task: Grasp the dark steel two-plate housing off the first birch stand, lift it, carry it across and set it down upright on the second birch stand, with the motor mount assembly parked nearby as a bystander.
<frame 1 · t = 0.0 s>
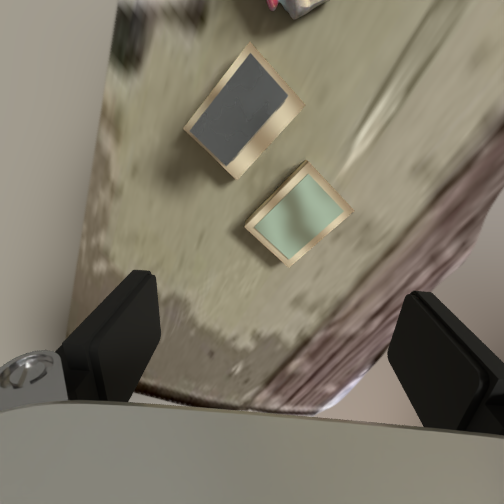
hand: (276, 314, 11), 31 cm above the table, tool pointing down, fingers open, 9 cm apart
stand A: (244, 118, 36), on the table
housing: (242, 117, 33), point 3 cm above the table, touching stand A
stand B: (296, 213, 41), on the table
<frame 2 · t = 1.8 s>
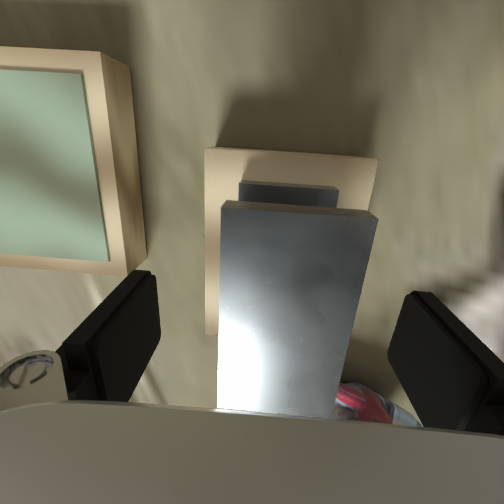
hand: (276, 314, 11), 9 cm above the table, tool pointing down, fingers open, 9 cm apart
stand A: (278, 242, 19), on the table
motor mount assembly: (332, 405, 25), on the table
housing: (279, 259, 17), point 3 cm above the table, touching stand A
stand B: (72, 169, 18), on the table
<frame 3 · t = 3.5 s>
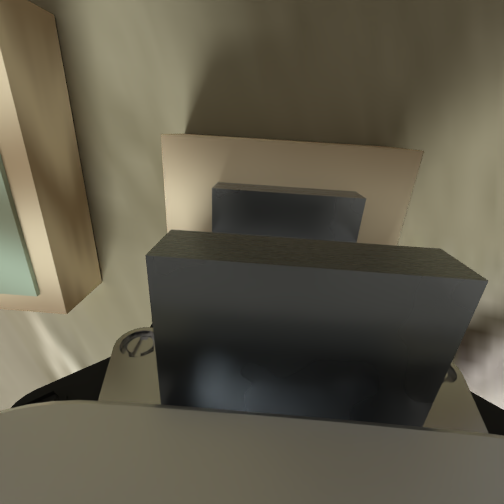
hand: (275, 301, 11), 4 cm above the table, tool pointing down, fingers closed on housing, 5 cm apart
stand A: (273, 262, 15), on the table
housing: (275, 292, 12), point 3 cm above the table, touching gripper, stand A
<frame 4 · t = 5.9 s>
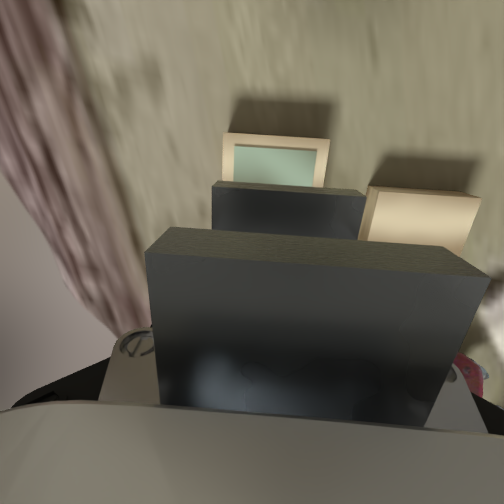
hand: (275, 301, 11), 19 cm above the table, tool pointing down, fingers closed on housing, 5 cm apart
stand A: (397, 245, 30), on the table
motor mount assembly: (418, 364, 36), on the table
housing: (275, 291, 12), point 18 cm above the table, touching gripper
stand B: (270, 198, 29), on the table
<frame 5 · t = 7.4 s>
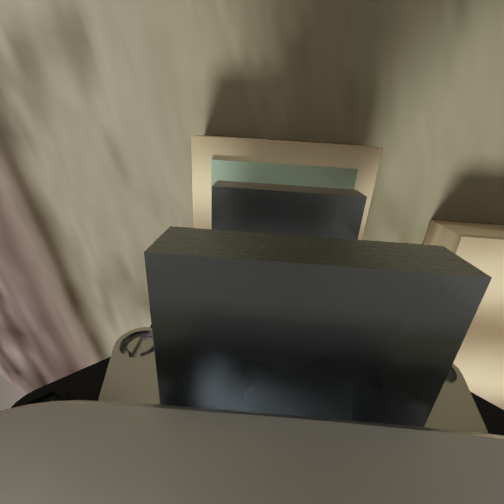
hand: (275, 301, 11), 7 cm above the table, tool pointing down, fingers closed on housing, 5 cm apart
stand A: (469, 307, 19), on the table
housing: (275, 291, 12), point 7 cm above the table, touching gripper
stand B: (273, 239, 18), on the table
when the fingers open (4 cm above the table, at t = 8.8 s): housing stays where it is, resting on stand B.
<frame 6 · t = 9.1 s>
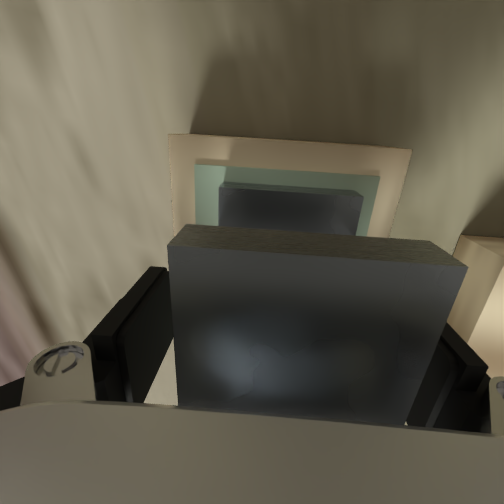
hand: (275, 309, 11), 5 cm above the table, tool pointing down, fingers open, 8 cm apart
stand A: (501, 334, 17), on the table
housing: (277, 287, 12), point 3 cm above the table, touching stand B
stand B: (273, 256, 15), on the table
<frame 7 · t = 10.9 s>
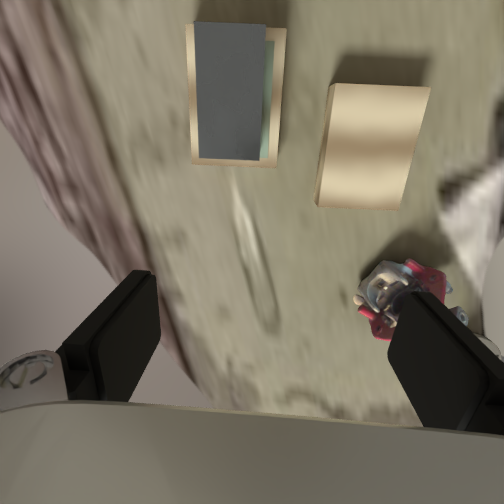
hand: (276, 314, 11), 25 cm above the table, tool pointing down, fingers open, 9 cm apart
stand A: (360, 149, 32), on the table
motor mount assembly: (391, 285, 39), on the table
housing: (236, 103, 27), point 3 cm above the table, touching stand B
stand B: (237, 104, 30), on the table
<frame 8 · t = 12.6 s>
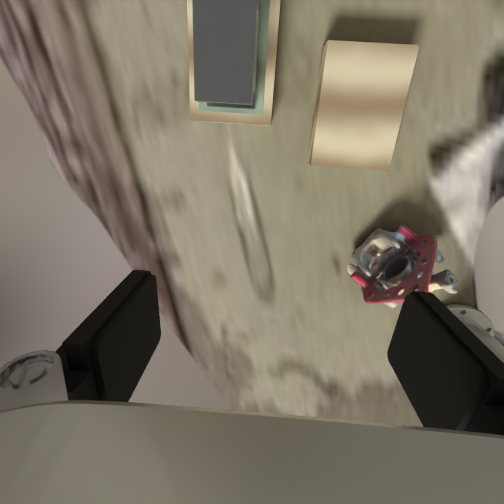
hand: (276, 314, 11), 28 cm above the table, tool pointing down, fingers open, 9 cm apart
stand A: (352, 112, 33), on the table
motor mount assembly: (384, 256, 40), on the table
housing: (233, 58, 29), point 3 cm above the table, touching stand B
stand B: (235, 65, 31), on the table
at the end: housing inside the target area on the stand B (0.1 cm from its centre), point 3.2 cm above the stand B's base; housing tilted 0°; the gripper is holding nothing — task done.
